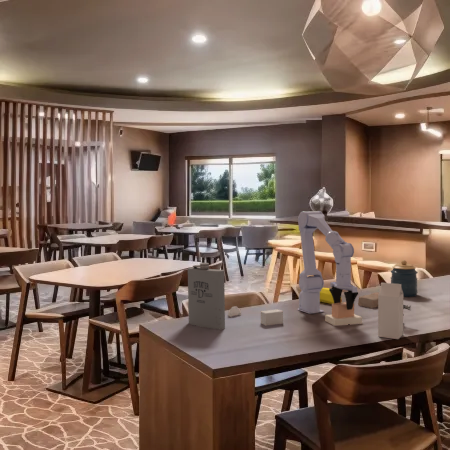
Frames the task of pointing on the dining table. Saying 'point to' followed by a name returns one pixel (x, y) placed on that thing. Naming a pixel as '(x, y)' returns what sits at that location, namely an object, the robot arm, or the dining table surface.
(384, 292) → the milk carton
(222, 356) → the dining table surface
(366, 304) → the brick
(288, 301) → the dining table surface
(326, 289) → the yellow banana
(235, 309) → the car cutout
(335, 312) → the terracotta brick
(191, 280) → the flask
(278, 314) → the grey brick
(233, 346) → the dining table surface
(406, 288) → the canister
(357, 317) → the cream base brick
